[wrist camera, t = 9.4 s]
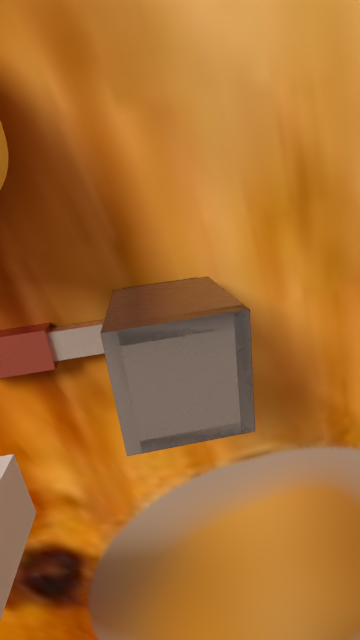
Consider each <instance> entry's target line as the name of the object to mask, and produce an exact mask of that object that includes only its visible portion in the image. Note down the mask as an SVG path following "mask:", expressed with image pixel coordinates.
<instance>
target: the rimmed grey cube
mask: <svg viewBox="0 0 360 640" xmlns="http://www.w3.org/2000/svg"><path fill="white" fill-rule="evenodd" d="M100 335H101V339H102V344H103V349H104V353H105V358H106V362H107V367H108V371H109V376H110V381H111V385H112V390H113V394H114V399H115V403H116V408H117V413H118V417H119V422H120V426H121V431H122V435H123V440H124V445H125V449H126V454H127V456H131V455H136V454H142V453H147V452H152V451H157V450H162V449H167V448H172V447H177V446H183V445H188V444H193V443H198V442H203V441H208V440H213V439H218V438H223V437H229V436H234V435H239V434H244V433H249V432H254V431H255V416H254V394H253V372H252V350H251V328H250V310H249V309H248V308H247V307H246V306H244V305H243V304H242V303H241V302H239V301H238V300H237V299H236V298H234V297H233V296H232V295H231V294H229V293H228V292H227V291H226V290H224V289H223V288H222V287H220V286H219V285H218V284H217V283H215V282H214V281H213V280H212V279H210V278H209V277H201V278H194V279H188V280H181V281H174V282H167V283H160V284H153V285H146V286H139V287H132V288H126V289H119V290H113V294H112V297H111V300H110V303H109V306H108V310H107V313H106V316H105V319H104V322H103V326H102V329H101V332H100Z"/></svg>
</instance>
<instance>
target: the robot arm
mask: <svg viewBox="0 0 360 640" xmlns="http://www.w3.org/2000/svg"><path fill="white" fill-rule="evenodd" d="M35 515H36V511H35V508H34V506H33V503H32V500H31V498H30V495H29V492H28V490H27V487H26V485H25V482H24V479H23V477H22V474H21V472H20V469H19V466H18V464H17V461H16V459H15V456H14V454H11V455H6V456H0V620H1V617H2V614H3V611H4V608H5V605H6V602H7V599H8V596H9V593H10V590H11V587H12V584H13V581H14V578H15V575H16V572H17V569H18V566H19V563H20V560H21V557H22V554H23V551H24V548H25V545H26V542H27V539H28V536H29V533H30V530H31V527H32V524H33V521H34V518H35Z"/></svg>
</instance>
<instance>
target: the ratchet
mask: <svg viewBox="0 0 360 640" xmlns="http://www.w3.org/2000/svg"><path fill="white" fill-rule="evenodd" d="M197 278H198V277H197ZM190 279H194V278H190ZM183 280H188V279H183ZM176 281H181V280H176ZM169 282H174V281H169ZM162 283H167V282H162ZM155 284H160V283H155ZM149 285H153V284H149ZM142 286H146V285H142ZM135 287H139V286H135ZM128 288H132V287H128ZM123 289H126V288H123ZM103 322H104V320H98V321H91V322H84V323H78V324H71V325H65V326H58V327H52V326H51V323H46V324H39V325H32V326H26V327H19V328H13V329H6V330H0V378H6V377H12V376H18V375H24V374H30V373H36V372H42V371H48V370H54V369H56V367H57V365H58V363H59V361H60V360H66V359H73V358H79V357H85V356H91V355H97V354H103V353H104V349H103V344H102V339H101V335H100V332H101V329H102V326H103Z"/></svg>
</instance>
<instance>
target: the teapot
mask: <svg viewBox="0 0 360 640" xmlns="http://www.w3.org/2000/svg"><path fill="white" fill-rule="evenodd" d="M8 157H9V154H8V147H7V140H6V137H5V133H4V130H3V126H2V123H1V121H0V190H1V188H2V186H3V183H4V181H5V179H6V175H7V170H8Z"/></svg>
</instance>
